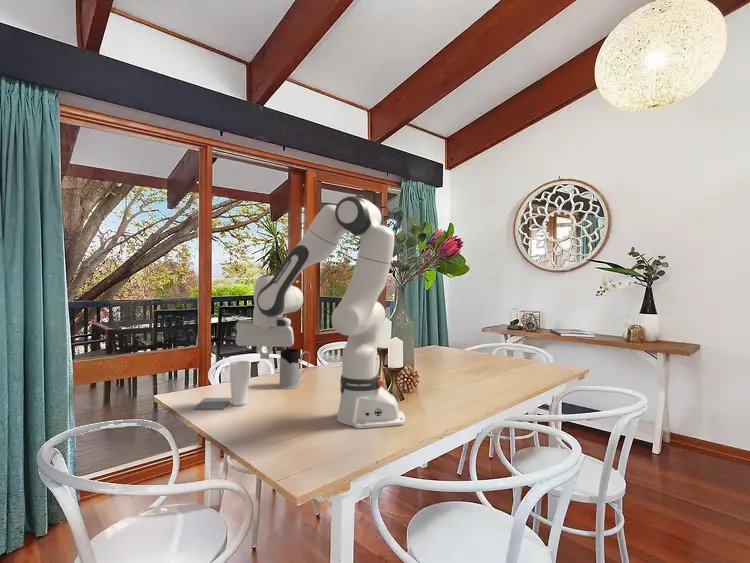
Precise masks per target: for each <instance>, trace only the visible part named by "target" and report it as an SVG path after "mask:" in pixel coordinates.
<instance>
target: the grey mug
mask: <svg viewBox="0 0 750 563" xmlns="http://www.w3.org/2000/svg"><path fill="white" fill-rule="evenodd" d="M305 353H307V354H308V362H307V365H306V366H305V368H304V370H303V371H301V372H300V363H302V360H303V355H304V354H305ZM299 357H300V358H299ZM310 361H311V354H310V352H308V351H305V350H304V351H302V353H301V355H300V350H299V349H295V348H285V349H281V350H280V358H279V385H278V388H279V389H281V390H295V389H298V388H300V387H301V386H300V378H301V377H302V375H303V374H304V373H305V372H306V371H307V369H308V367H309V365H310Z"/></svg>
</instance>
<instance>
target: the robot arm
mask: <svg viewBox="0 0 750 563" xmlns="http://www.w3.org/2000/svg"><path fill="white" fill-rule="evenodd" d="M347 232H349V233H350V234H352V235H354V236H355V237H359V240H360V243H359V249H358V253H357V256H356V257H357V258H356V261H355V265H354V268H353V272H352V275H351V276H352V277H351V280H350V282H349V284H348V287H347V288H346V290H345V293H344V294H343V296H342V298H341V301H340V302H339V304H338V305H337V306H336V307H335V308H334V310H333V312H332V314H331V325H332V327H333V329H334V330H335V331H336V332H337V333H338V334H340V335H343V336H348V338H347V341H346V343H345V346H344V348H343V350H342V362H341V363H342V369H341V373H342V374H341V376H340V379H339V380H340V381H339V382H340V384H339V385H340V386H339V389H340V401H339V406H338V407H339V408H338V411H337V414H336V420H337V421H338V422H339V423H341V424H344V425H348V426H351V427H353V428H355V429H358V430H361V429H368V428H371V429H372V428H384V427H391V426H392V427H393V426H402V425H404V424H405V423H406V416H405V414H404V412H403V411H402V410H400V409H399V404H398V401H397V399H396V397H395V396H394V395H393V394H391V393H390V392H389V391H388V390H386V389H385V388H383V386H384V385H385V381H384V379H382V377H381V376H380V375H377V353H378V352H377V351H378V346H379V341H380V336H381V335H380V334H381V330H382V326H383V324H384V322H385V320H386V309H385V307H384V306H383V304H381V302H379V301H378V300H379V297H380V295H381V294H382V291H384V289H385V287H386V284H387V280H388V276H389V273H390V268H391V264H392V259H393V255H394V247H395V233H394V231H393V230H392V229H391V228H389V227H387V226H386V225H384V213H383V211H382V209H381V208H380V207H379V206H378V205H376V204H374V203H372V202H371V201H370V200H368V199H367V198H366V199H365V198H362V197H359V196H355V195H353V196H352V195H351V196H347V197H344V198H342V199H341V200H339V201H338V202H337V204H326V205H324V206H323V207H322V208H321V210H319V212H318V213H317V214H316V216H315V217H314V218H313V219H312V221H311V223H310V224H309V226H308V228H307V230H306V231H305V233H304V235H303V236H302V237H301V239H300V240H299V242H298V243H297V244H296V246H295V247H294V248H293V249H292V250H291V251H290V253H288V255H287V256H286V257H285V259H284V261H283V262H282V263H281V265H280V266H279V268H278V269H277V270H276V272H275V274H271V275H270V274H269V275H261V276H259V277H257V278H256V280H255V283H254V289H253V303H254V308H253V310H252V312H253V313H252V319H240V320H238V321H237V322H236V324H235V330H236V336H235V344H236V345H237V346H238V347H256V350H257V352H258V353H259V360H261V359H262V360H268V359H270V353H271V352H272V350H273V348H275V347H276V348H277V347H278V348H291V347H293V345H294V343H295V338H294V337H295V335H294V330H293V327H292V326H291V325H292V321H291V319H290V318H288V317H284V316H282V315H284V314H290V313H295V312H297V311H299V310H300V309H301V308H302V306H303V305H304V299H305V298H304V295H303V292H302V290H301V289H300V288H299V287H298V286H294V285H292V284H294V282H295V280H296V279H297V278H298V276H299V275H300V273H301V272H302V271H304V270H305V269H306V268H308V267H311V266H312V265H316V264H317V263H321V262H324V261H326V260H327V259H328V258H329V257H330V256H331V255H332V253H333V252H334V251H335V250H336V247H337V246H338V244H339V242H340V241H341V238H342V237H343V235H344V234H345V233H347ZM263 347H266V348H267V350H268V351H267V353H266V352H263V351H262V349H263Z"/></svg>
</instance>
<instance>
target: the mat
mask: <svg viewBox="0 0 750 563" xmlns="http://www.w3.org/2000/svg"><path fill="white" fill-rule="evenodd" d="M230 402H232V397H204V398H203V399H202V400H200V402H199V403H198V404H196V405H195V406H194V407H193V408H192V409H193V411H202V410H203V411H205V410H207V411H208V410H209V411H211V410H215V411H216V410H218V411H220V410H223V411H224V410H225V408H226V407H227V406H228V405H229V404H230Z"/></svg>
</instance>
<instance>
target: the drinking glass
mask: <svg viewBox="0 0 750 563" xmlns="http://www.w3.org/2000/svg"><path fill="white" fill-rule="evenodd" d="M250 372H251V366H250V361H248V360H234V361H231V362H230V363H229V382H230V394H231V398H232V400H231V405H232V406H235V407H241V406H245V405H246V404H247V403H248V394H249V382H250V374H251V373H250Z"/></svg>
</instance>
